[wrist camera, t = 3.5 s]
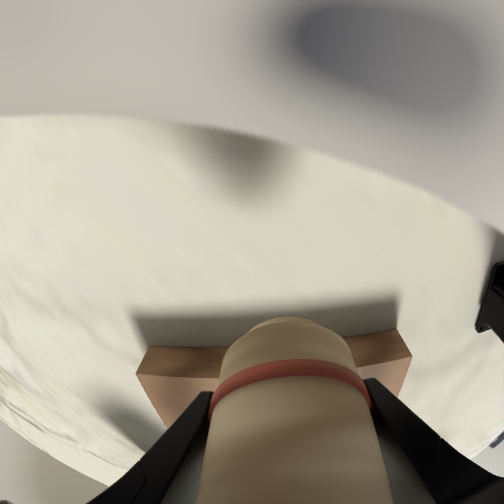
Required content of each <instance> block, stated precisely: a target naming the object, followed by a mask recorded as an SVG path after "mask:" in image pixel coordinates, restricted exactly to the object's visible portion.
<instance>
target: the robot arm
mask: <svg viewBox="0 0 504 504" xmlns="http://www.w3.org/2000/svg"><path fill="white" fill-rule="evenodd" d="M489 329H492V330H493V332H494V333H495V334H496V335H497V336H498V337H499V338H500V340H501V341H502V342H503V343H504V261H503V262H498V263H496V264H495V265H494V267H493V270H492V274H491V278H490V282H489V286H488V290H487V293H486V297H485V300H484V304H483V307H482V310H481V313H480V316H479V319H478V322H477V325H476V328H475V330H476V331H477V332H478V333H481V332H484V331H487V330H489ZM363 382H364V384H365V386H366V389H367V392H368V395H369V398H370V402H371V407H370V414H371V417H372V420H373V424H374V427H375V431H376V434H377V438H378V442H379V445H380V449H381V453H382V457H383V461H384V465H385V469H386V473H387V477H388V481H389V486H390V490H391V495H392V499H393V504H504V477H499V476H496V475H493V474H492V473H490V472H488V471H486V470H485V469H483V468H481V467H480V466H479V465H477V464H476V463H474V462H472V461H471V460H469V459H468V458H466V457H465V456H464V455H462V454H461V453H459V452H458V451H457V450H456V449H454V448H453V447H452V446H451V445H450V444H448V443H447V442H446V441H445V440H444V439H443V438H440V436H439V435H438V434H437V433H436V432H435V431H434V430H433V429H431V428H430V427H429V426H428V425H427V424H426V423H425V422H424V421H423V420H421V419H420V418H419V417H418V416H417V415H416V414H415V413H414V412H413V411H411V410H410V409H409V408H408V407H407V406H406V405H405V404H404V403H403V402H402V401H400V400H399V399H398V398H397V397H396V396H395V395H394V394H393V393H392V392H391V391H389V390H388V389H387V388H386V387H385V386H384V385H383V384H382V383H381V382H380V381H378V380H377V379H376V378H374V377H372V378H366V379H363ZM213 394H214V392H213V391H201V392H200V393H199V394H198V395H197V396H196V398H195V399H194V400H193V401H192V402H191V403H190V405H189V406H188V407H187V408H186V409H185V410H184V411H183V413H182V414H181V415H180V416H179V417H178V418H177V419H176V421H175V422H174V423H173V424H172V425H171V426H170V427H169V428H168V429H167V431H166V432H165V433H164V434H163V435H162V436H161V437H160V438H159V439H158V440H157V442H156V443H155V444H154V445H153V446H152V447H151V448H150V449H149V450H148V451H147V452H146V453H145V454H144V455H143V457H142V458H141V459H140V461H138V462H137V463H136V464H135V465H134V466H133V467H132V468H131V469H130V470H129V471H128V472H127V473H126V474H125V475H123V476H122V477H121V478H120V479H119V480H118V481H116V482H115V483H114V484H113V485H111V486H110V487H109V488H107V489H106V490H105V491H103V492H102V493H101V494H99V495H98V496H96V497H95V498H94V499H92V500H91V501H89V502H88V503H86V504H195V502H196V497H197V491H198V486H199V481H200V475H201V470H202V465H203V459H204V454H205V449H206V444H207V438H208V433H209V428H210V421H209V418H208V415H209V410H210V405H211V400H212V396H213ZM0 504H13V503H11V502H9V501H7V500H1V501H0Z"/></svg>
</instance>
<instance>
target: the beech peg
mask: <svg viewBox="0 0 504 504" xmlns="http://www.w3.org/2000/svg"><path fill="white" fill-rule="evenodd" d="M370 407H371V402H370V398H369V395H368V392H367V389H366V386H365V384H364V382H363V380H362V379H361V378H360V377H359V375H358V372H357V369H356V366H355V363H354V360H353V357H352V354H351V351H350V349H349V347H348V345H347V343H346V342H345V341H344V340H343V338H342V337H340V336H339V335H338V334H337V333H335V332H334V331H332V330H330V329H328V328H326V327H323V326H321V325H320V324H318V323H317V322H315V321H312V320H310V319H306V318H302V317H295V316H283V317H277V318H272V319H269V320H266V321H264V322H261V323H259V324H258V325H256V326H254V327H253V328H252V329H251V330H249V331H248V332H247V333H246V334H244V335H243V336H241V337H240V338H239V339H237V340H236V341H235V342H234V343H233V344H232V345H231V346H230V347H229V349H228V350H227V352H226V353H225V356H224V358H223V362H222V366H221V372H220V377H219V382H218V387H217V389H216V390H215V392H214V394H213V396H212V400H211V405H210V410H209V415H208V418H209V421H210V428H209V433H208V438H207V444H206V449H205V454H204V459H203V465H202V470H201V475H200V481H199V486H198V491H197V497H196V502H195V504H393V499H392V495H391V490H390V486H389V481H388V477H387V473H386V469H385V465H384V461H383V457H382V453H381V449H380V445H379V442H378V438H377V434H376V431H375V427H374V424H373V420H372V417H371V414H370Z"/></svg>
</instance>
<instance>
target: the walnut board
mask: <svg viewBox="0 0 504 504" xmlns="http://www.w3.org/2000/svg"><path fill="white" fill-rule="evenodd" d="M343 340H344V341H345V342H346V343H347V345H348V347H349V349H350V351H351V354H352V357H353V360H354V363H355V366H356V369H357V372H358V375H359V377H360V378H361V379H362V380H363V379H366V378H372V377H374V378H376V379H377V380H378V381H380V382H381V383H382V384H383V385H384V386H385V387H386V388H387V389H388V390H389V391H391V392H392V393H393V394H394V395H395V396H396V397H398V395H399V392H400V390H401V387H402V384H403V382H404V379H405V376H406V374H407V371H408V368H409V365H410V362H411V359H412V355H411V353H410V351H409V349H408V348H407V346H406V344H405V342H404V341H403V339H402V337H401V336H400V334H399V332H398V330H397V329H395V330H390V331H384V332H378V333H372V334H366V335H360V336H353V337H346V338H343ZM228 349H229V347H156V346H150V347H149V349H148V350H147V352H146V354H145V356H144V358H143V360H142V362H141V364H140V366H139V368H138V370H137V372H136V375H137V377H138V379H139V381H140V383H141V385H142V387H143V389H144V390H145V392H146V394H147V396H148V397H149V399H150V401H151V403H152V404H153V406H154V408H155V409H156V411H157V413H158V414H159V416H160V418H161V419H162V421H163V422H164V424H165V425H166V427H167V429H168V428H169V427H170V426H171V425H172V424H173V423H174V422H175V421H176V419H177V418H178V417H179V416H180V415H181V414H182V413H183V411H184V410H185V409H186V408H187V407H188V406H189V405H190V403H191V402H192V401H193V400H194V399H195V398H196V396H197V395H198V394H199V393H200V392H201V391H213V392H215V390H216V389H217V387H218V382H219V377H220V372H221V366H222V362H223V358H224V356H225V353H226V352H227V350H228Z"/></svg>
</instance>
